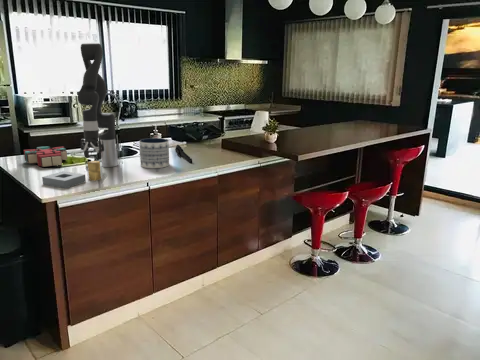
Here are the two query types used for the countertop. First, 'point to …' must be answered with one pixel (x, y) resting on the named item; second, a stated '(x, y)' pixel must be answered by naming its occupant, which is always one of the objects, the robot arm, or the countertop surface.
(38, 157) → the toy
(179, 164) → the countertop surface
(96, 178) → the peg
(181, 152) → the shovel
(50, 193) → the countertop surface
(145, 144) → the planter
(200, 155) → the countertop surface
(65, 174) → the hole block
